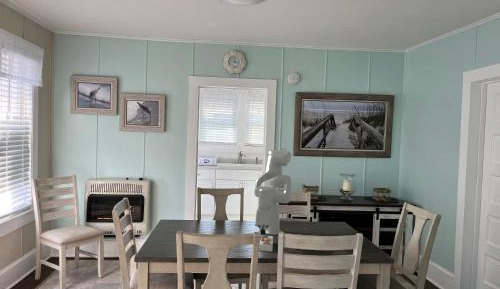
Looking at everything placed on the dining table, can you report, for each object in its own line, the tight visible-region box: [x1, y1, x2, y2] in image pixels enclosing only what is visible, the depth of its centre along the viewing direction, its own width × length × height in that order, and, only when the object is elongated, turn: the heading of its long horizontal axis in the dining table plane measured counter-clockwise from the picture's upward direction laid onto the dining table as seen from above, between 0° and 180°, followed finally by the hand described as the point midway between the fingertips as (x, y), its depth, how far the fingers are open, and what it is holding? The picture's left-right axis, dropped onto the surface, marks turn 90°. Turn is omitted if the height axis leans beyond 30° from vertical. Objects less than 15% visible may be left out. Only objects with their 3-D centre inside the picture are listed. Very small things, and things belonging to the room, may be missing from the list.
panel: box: [258, 235, 274, 253], centre depth 243 cm, size 19×10×4 cm, turn 176°
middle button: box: [261, 234, 269, 241], centre depth 243 cm, size 4×4×3 cm
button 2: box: [264, 238, 270, 245], centre depth 237 cm, size 4×4×3 cm
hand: (262, 235), depth 250 cm, fingers closed
